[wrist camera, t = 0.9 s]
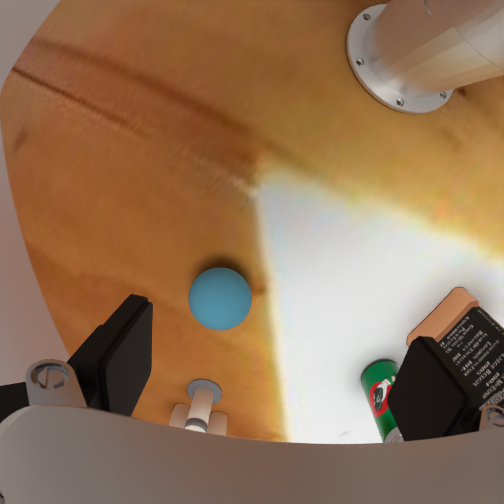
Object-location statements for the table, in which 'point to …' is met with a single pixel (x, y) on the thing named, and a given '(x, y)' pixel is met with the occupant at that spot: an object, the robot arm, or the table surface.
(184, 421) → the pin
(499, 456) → the robot arm
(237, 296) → the ball
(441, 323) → the whiskey bottle
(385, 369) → the soda can
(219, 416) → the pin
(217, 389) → the pin spot
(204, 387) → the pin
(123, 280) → the table surface
